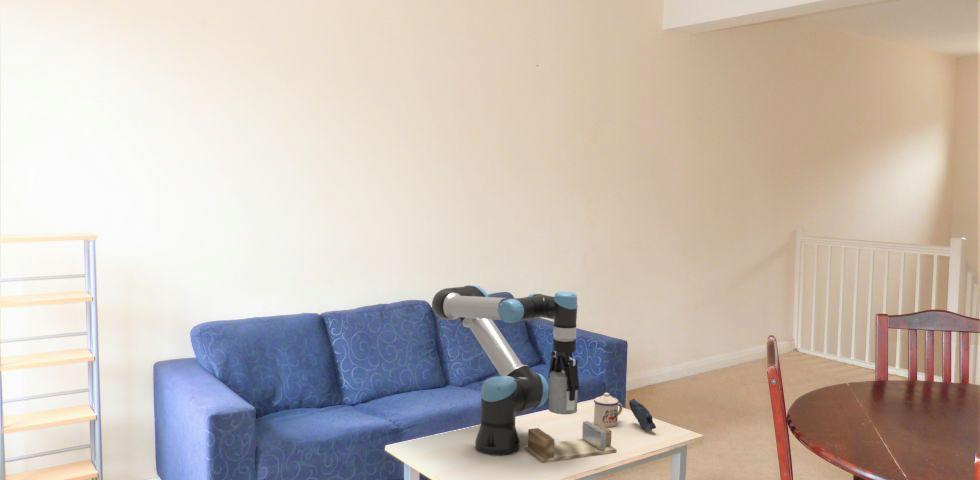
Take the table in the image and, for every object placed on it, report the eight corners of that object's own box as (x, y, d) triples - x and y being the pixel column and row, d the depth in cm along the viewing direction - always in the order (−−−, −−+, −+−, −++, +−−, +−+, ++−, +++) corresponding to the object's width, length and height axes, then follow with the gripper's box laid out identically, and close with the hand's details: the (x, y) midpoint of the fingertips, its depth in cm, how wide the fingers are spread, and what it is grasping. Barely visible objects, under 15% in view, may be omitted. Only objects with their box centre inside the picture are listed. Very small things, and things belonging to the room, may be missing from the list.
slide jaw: (600, 450, 258) (601, 432, 258) (582, 438, 269) (582, 421, 269) (615, 447, 261) (616, 430, 260) (597, 436, 272) (597, 419, 271)
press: (542, 462, 249) (542, 441, 249) (524, 449, 261) (525, 429, 261) (616, 452, 260) (617, 431, 260) (596, 439, 272) (597, 420, 272)
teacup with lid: (603, 428, 284) (604, 397, 283) (588, 421, 292) (589, 391, 291) (629, 424, 290) (630, 394, 289) (613, 417, 298) (614, 387, 297)
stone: (662, 432, 281) (663, 405, 281) (651, 435, 278) (652, 408, 277) (632, 422, 292) (633, 396, 291) (621, 425, 288) (622, 399, 288)
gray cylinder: (577, 406, 262) (578, 370, 261) (577, 415, 253) (578, 378, 252) (548, 405, 263) (549, 369, 262) (548, 413, 254) (549, 376, 253)
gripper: (591, 345, 247) (589, 413, 249) (558, 331, 268) (557, 395, 270) (571, 346, 244) (569, 416, 246) (539, 333, 265) (537, 397, 267)
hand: (562, 405), depth 258 cm, fingers closed on gray cylinder, 9 cm apart
